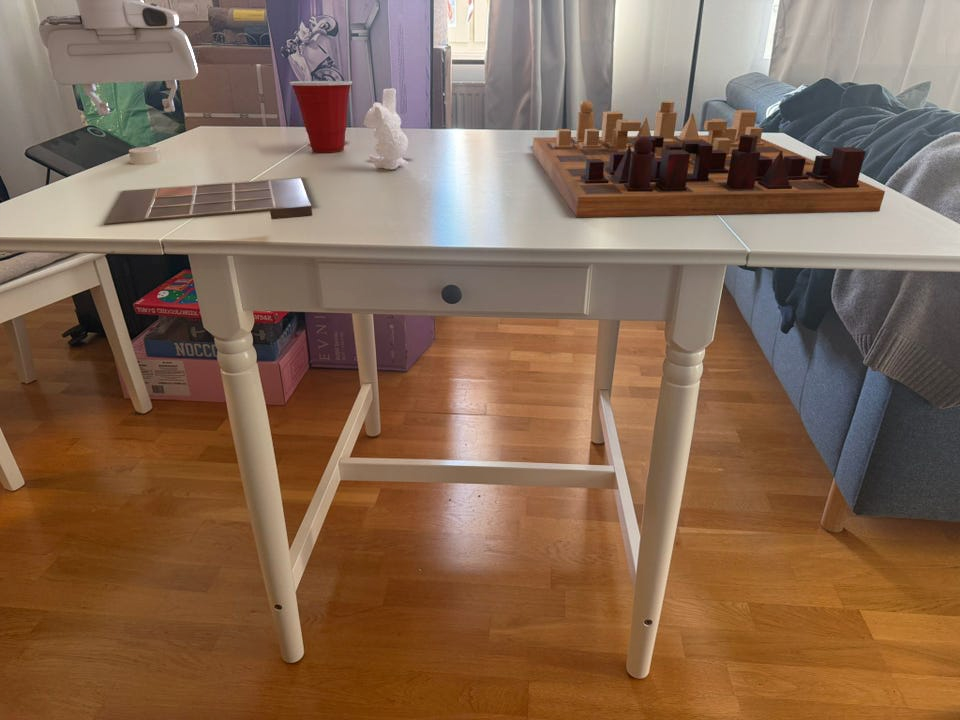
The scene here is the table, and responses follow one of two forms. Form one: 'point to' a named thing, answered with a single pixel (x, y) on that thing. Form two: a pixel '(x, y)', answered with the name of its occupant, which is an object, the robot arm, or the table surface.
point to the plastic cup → (324, 112)
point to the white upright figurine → (387, 132)
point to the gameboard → (695, 169)
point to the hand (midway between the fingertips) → (137, 113)
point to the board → (212, 201)
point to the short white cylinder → (144, 155)
